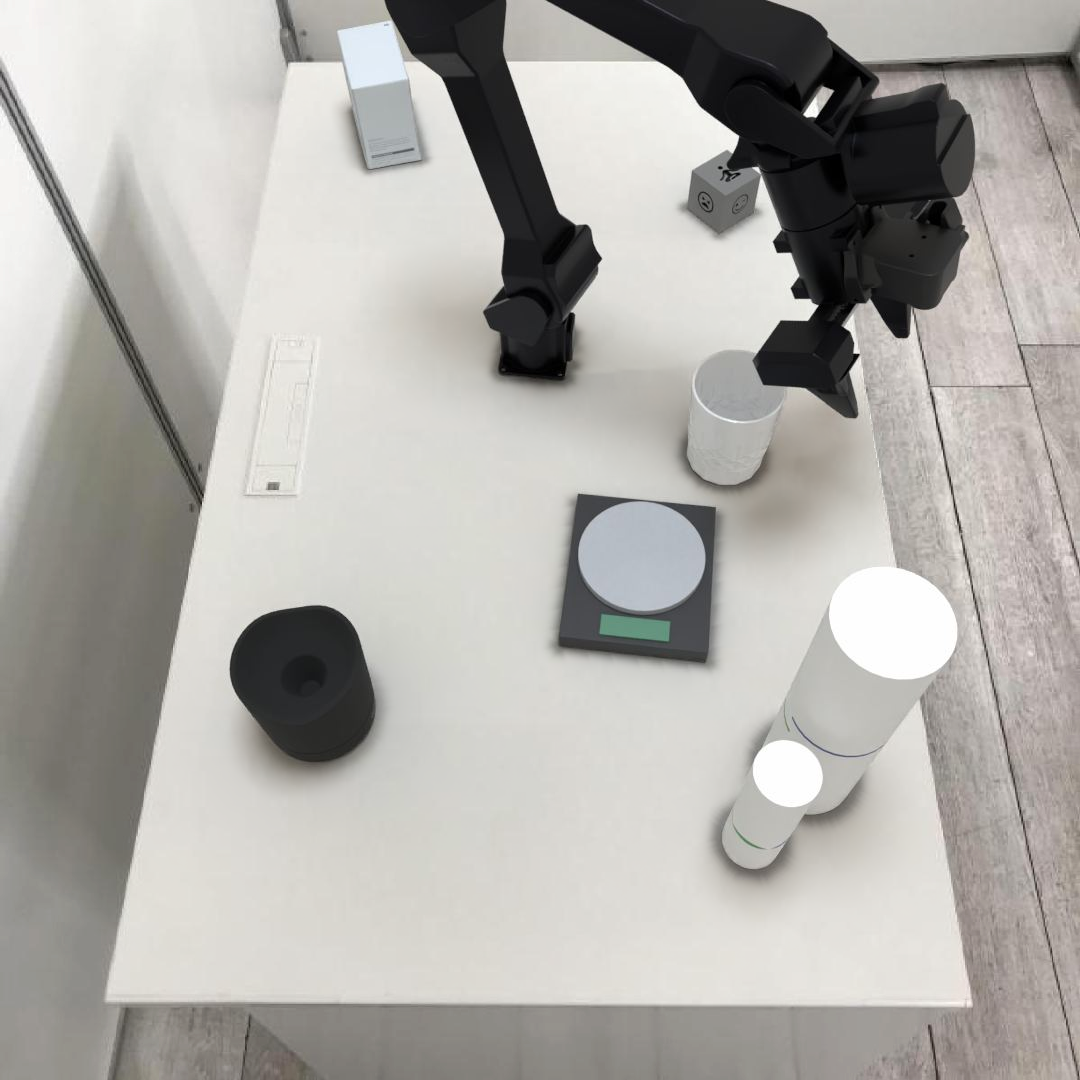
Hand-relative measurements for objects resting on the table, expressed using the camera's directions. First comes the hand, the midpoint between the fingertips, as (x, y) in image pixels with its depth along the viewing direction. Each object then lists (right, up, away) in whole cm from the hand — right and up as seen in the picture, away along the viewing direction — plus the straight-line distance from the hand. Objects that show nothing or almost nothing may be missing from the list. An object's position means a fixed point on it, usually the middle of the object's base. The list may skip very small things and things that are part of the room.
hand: (878, 376), depth 83 cm
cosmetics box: (-44, +33, +38) cm, 67 cm away
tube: (-11, -35, -4) cm, 37 cm away
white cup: (-10, -5, +14) cm, 18 cm away
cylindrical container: (-6, -30, -1) cm, 31 cm away
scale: (-18, -16, +8) cm, 25 cm away
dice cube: (-7, +22, +31) cm, 39 cm away
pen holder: (-44, -27, +2) cm, 51 cm away
